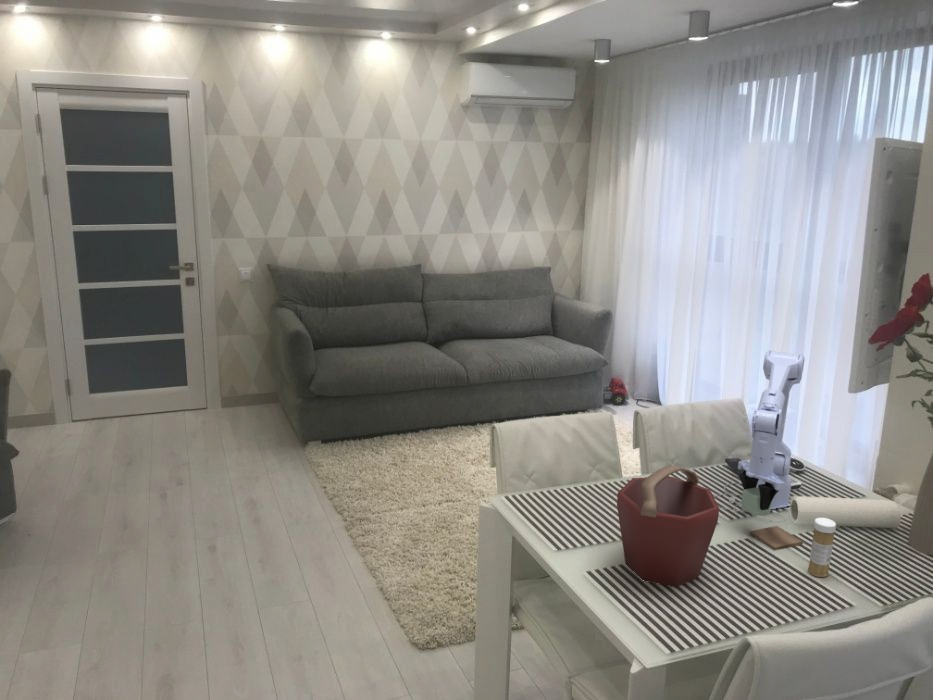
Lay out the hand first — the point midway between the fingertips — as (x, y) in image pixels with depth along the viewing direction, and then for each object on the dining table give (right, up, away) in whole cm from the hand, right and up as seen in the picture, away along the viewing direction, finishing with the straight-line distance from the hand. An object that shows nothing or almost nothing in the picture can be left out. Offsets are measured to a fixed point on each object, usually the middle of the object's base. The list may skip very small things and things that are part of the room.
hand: (756, 504), depth 192 cm
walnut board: (+5, -9, 0) cm, 10 cm away
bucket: (-29, -12, -14) cm, 34 cm away
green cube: (0, -1, 0) cm, 2 cm away
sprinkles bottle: (+8, -13, -16) cm, 22 cm away
